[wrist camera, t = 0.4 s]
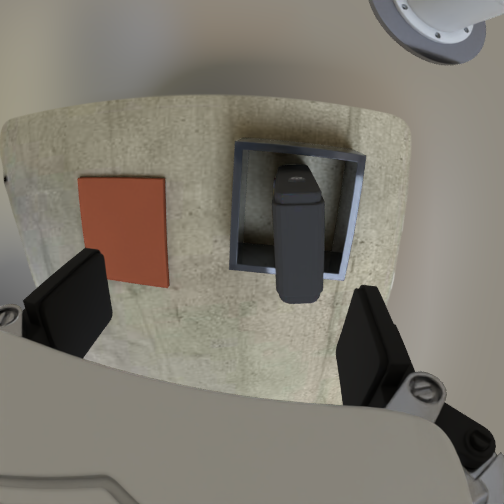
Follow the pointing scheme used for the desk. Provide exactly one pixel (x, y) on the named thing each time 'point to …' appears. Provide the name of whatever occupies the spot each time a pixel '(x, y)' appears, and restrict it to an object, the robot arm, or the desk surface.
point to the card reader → (298, 234)
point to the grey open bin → (337, 259)
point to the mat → (127, 227)
